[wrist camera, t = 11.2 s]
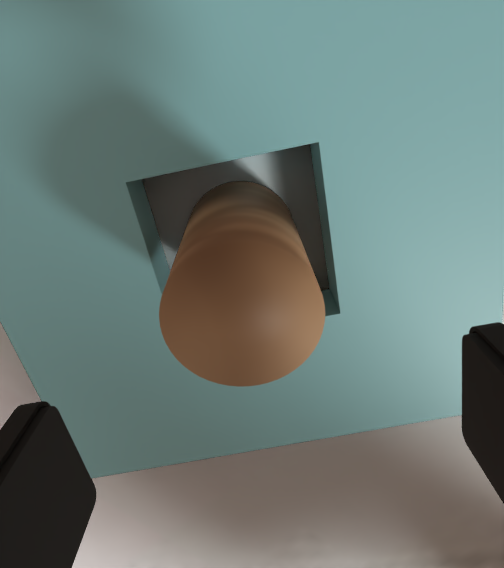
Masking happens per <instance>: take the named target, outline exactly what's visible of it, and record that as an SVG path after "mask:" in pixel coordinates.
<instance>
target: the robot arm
mask: <svg viewBox="0 0 504 568" xmlns="http://www.w3.org/2000/svg"><path fill="white" fill-rule="evenodd" d="M462 432H463V436H464V439H465V442H466V444H467V446H468V447H469V449H470V451H471V452H472V454H473V455H474V457H475V459H476V460H477V462H478V463H479V465H480V467H481V468H482V470H483V471H484V473H485V475H486V476H487V478H488V479H489V481H490V482H491V484H492V486H493V487H494V489H495V490H496V492H497V494H498V495H499V497H500V498H501V500H502V502H503V503H504V324H502V323H500V322H496V323H490V324H484V325H479V326H473V327H471V328H470V331H469V334H466V335H464V336H463V337H462ZM95 502H96V488H95V485H94V483H93V481H92V479H91V477H90V475H89V473H88V471H87V469H86V467H85V464H84V462H83V460H82V458H81V456H80V454H79V452H78V450H77V448H76V446H75V444H74V442H73V440H72V437H71V435H70V433H69V431H68V429H67V427H66V425H65V423H64V421H63V419H62V417H61V415H60V412H59V411H58V409H57V408H56V407H55V406H51V405H50V404H49V403H48V402H46V401H41V402H36V403H30V404H24V405H20V406H18V407H17V408H16V409H15V410H14V412H13V413H12V415H11V416H10V417H9V419H8V420H7V421H6V423H5V424H4V426H3V427H2V428H1V430H0V568H72V565H73V562H74V560H75V557H76V554H77V552H78V549H79V546H80V543H81V541H82V538H83V535H84V532H85V530H86V527H87V524H88V521H89V519H90V516H91V513H92V511H93V508H94V505H95Z"/></svg>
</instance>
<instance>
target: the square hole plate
mask: <svg viewBox="0 0 504 568" xmlns="http://www.w3.org/2000/svg"><path fill="white" fill-rule="evenodd" d="M307 144H310V147H311V154H312V162H313V169H314V177H315V184H316V192H317V199H318V206H319V214H320V221H321V229H322V236H323V244H324V251H325V259H326V266H327V274H328V281H329V289H328V290H323V291H321V292H322V295H323V299H324V304H325V324H324V328H323V332H322V335H321V338H320V340H319V342H318V344H317V346H316V348H315V349H314V351H313V352H312V353H311V355H310V356H309V357H308V358H307V359H306V361H305V362H304V363H303V364H302V365H300V366H299V367H298V368H297V369H295V370H294V371H292V372H291V373H289V374H288V375H286V376H284V377H282V378H280V379H278V380H275V381H272V382H269V383H266V384H261V385H256V386H245V387H237V386H227V385H222V384H217V383H214V382H211V381H208V380H206V379H204V378H201V377H199V376H198V375H196V374H194V373H192V372H191V371H190V370H188V369H187V368H186V367H184V366H183V365H182V364H181V363H180V362H179V361H178V360H177V359H176V358H175V357H174V355H173V354H172V353H171V351H170V350H169V348H168V346H167V345H166V343H165V340H164V338H163V335H162V332H161V328H160V322H159V306H160V301H161V297H162V294H163V291H164V288H165V285H166V283H167V280H168V277H169V274H170V270H169V267H168V264H167V261H166V257H165V254H164V251H163V248H162V244H161V241H160V238H159V234H158V231H157V228H156V225H155V221H154V218H153V215H152V212H151V208H150V205H149V202H148V198H147V195H146V192H145V189H144V185H143V182H142V179H144V178H149V177H154V176H159V175H164V174H168V173H173V172H178V171H183V170H187V169H192V168H197V167H202V166H207V165H211V164H216V163H221V162H226V161H230V160H235V159H240V158H245V157H250V156H254V155H259V154H264V153H269V152H274V151H278V150H283V149H288V148H293V147H297V146H302V145H307ZM503 298H504V0H0V322H1V324H2V326H3V328H4V330H5V332H6V334H7V335H8V337H9V339H10V341H11V343H12V345H13V347H14V349H15V351H16V353H17V355H18V357H19V359H20V361H21V362H22V364H23V366H24V368H25V370H26V372H27V374H28V376H29V378H30V380H31V382H32V384H33V386H34V387H35V389H36V391H37V393H38V395H39V397H40V399H41V401H46V402H48V403H49V404H50V405H51V406H55V407H56V408H57V409H58V411H59V412H60V415H61V417H62V419H63V421H64V423H65V425H66V427H67V429H68V431H69V433H70V435H71V437H72V440H73V442H74V444H75V446H76V448H77V450H78V452H79V454H80V456H81V458H82V460H83V462H84V464H85V467H86V469H87V471H88V473H89V475H90V477H91V478H97V477H103V476H109V475H115V474H121V473H126V472H132V471H138V470H144V469H150V468H156V467H161V466H167V465H173V464H179V463H185V462H191V461H196V460H202V459H208V458H214V457H220V456H226V455H231V454H237V453H243V452H249V451H255V450H260V449H266V448H272V447H278V446H284V445H290V444H295V443H301V442H307V441H313V440H319V439H325V438H330V437H336V436H342V435H348V434H354V433H360V432H365V431H371V430H377V429H383V428H389V427H395V426H400V425H406V424H412V423H418V422H424V421H430V420H435V419H441V418H447V417H453V416H459V415H462V337H463V336H464V335H466V334H469V331H470V328H471V327H473V326H479V325H484V324H490V323H496V322H500V323H502V314H503Z"/></svg>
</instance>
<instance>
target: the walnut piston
mask: <svg viewBox="0 0 504 568" xmlns="http://www.w3.org/2000/svg"><path fill="white" fill-rule="evenodd" d="M159 322H160V328H161V332H162V335H163V338H164V340H165V343H166V345H167V346H168V348H169V350H170V351H171V353H172V354H173V355H174V357H175V358H176V359H177V360H178V361H179V362H180V363H181V364H182V365H183V366H184V367H186V368H187V369H188V370H190V371H191V372H192V373H194V374H196V375H198V376H199V377H201V378H204V379H206V380H208V381H211V382H214V383H217V384H222V385H227V386H237V387H245V386H256V385H261V384H266V383H269V382H272V381H275V380H278V379H280V378H282V377H284V376H286V375H288V374H289V373H291V372H292V371H294V370H295V369H297V368H298V367H299V366H300V365H302V364H303V363H304V362H305V361H306V359H307V358H308V357H309V356H310V355H311V353H312V352H313V351H314V349H315V348H316V346H317V344H318V342H319V340H320V338H321V335H322V332H323V328H324V324H325V304H324V299H323V295H322V292H321V290H320V287H319V284H318V282H317V279H316V277H315V274H314V272H313V269H312V267H311V264H310V262H309V259H308V257H307V254H306V252H305V249H304V247H303V244H302V242H301V239H300V237H299V234H298V231H297V229H296V226H295V224H294V221H293V219H292V216H291V214H290V211H289V210H288V208H287V206H286V204H285V203H284V202H283V200H282V199H281V198H280V197H279V196H278V195H277V194H275V193H274V192H273V191H271V190H270V189H268V188H266V187H264V186H262V185H259V184H256V183H252V182H246V181H236V182H229V183H225V184H222V185H220V186H217V187H215V188H213V189H212V190H210V191H209V192H207V193H206V194H205V195H204V196H203V197H202V198H201V199H200V200H199V201H198V202H197V204H196V205H195V207H194V209H193V211H192V213H191V215H190V218H189V221H188V224H187V227H186V229H185V232H184V235H183V238H182V241H181V243H180V246H179V249H178V252H177V255H176V257H175V260H174V263H173V266H172V269H171V271H170V274H169V277H168V280H167V283H166V285H165V288H164V291H163V294H162V297H161V301H160V306H159Z"/></svg>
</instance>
